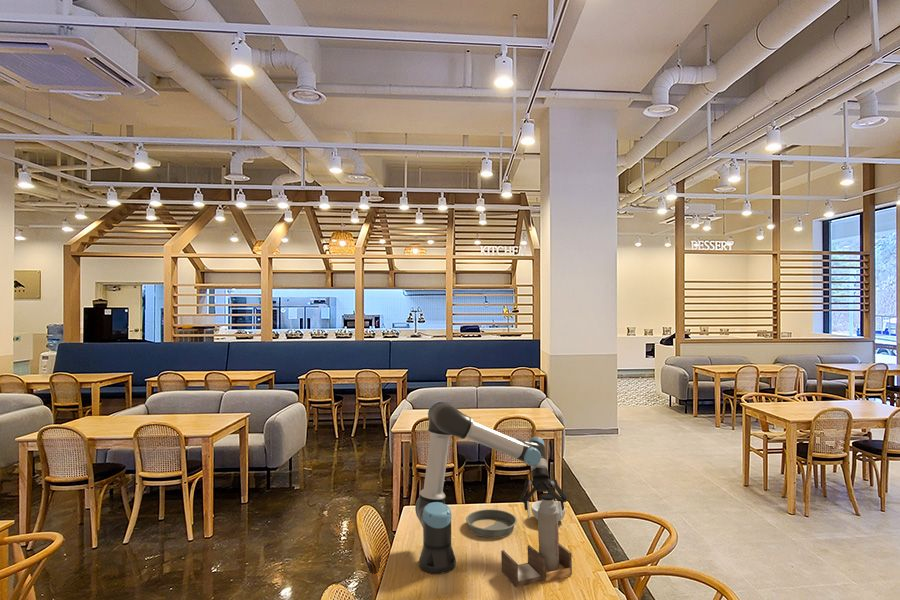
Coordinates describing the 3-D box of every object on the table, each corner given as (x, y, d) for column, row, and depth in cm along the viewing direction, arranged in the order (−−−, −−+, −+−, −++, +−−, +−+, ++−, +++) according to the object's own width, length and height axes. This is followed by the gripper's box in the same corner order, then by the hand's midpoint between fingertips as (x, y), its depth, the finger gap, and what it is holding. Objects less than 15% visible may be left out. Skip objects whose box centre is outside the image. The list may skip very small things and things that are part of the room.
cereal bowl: (527, 514, 255) (527, 500, 255) (558, 512, 257) (558, 499, 257) (537, 528, 238) (536, 513, 238) (570, 526, 240) (570, 512, 240)
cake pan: (516, 518, 250) (516, 509, 251) (517, 540, 226) (517, 530, 226) (467, 516, 253) (467, 508, 253) (464, 538, 229) (464, 528, 229)
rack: (516, 588, 186) (516, 565, 187) (501, 572, 198) (501, 550, 198) (572, 575, 195) (572, 553, 195) (555, 560, 207) (554, 540, 207)
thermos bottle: (561, 564, 200) (560, 494, 201) (555, 573, 194) (553, 501, 195) (543, 559, 205) (541, 491, 206) (535, 567, 198) (534, 497, 199)
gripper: (566, 474, 226) (573, 521, 211) (511, 474, 227) (515, 521, 212) (568, 466, 221) (576, 514, 206) (512, 466, 222) (516, 513, 207)
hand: (545, 517), depth 209 cm, fingers open, 13 cm apart
